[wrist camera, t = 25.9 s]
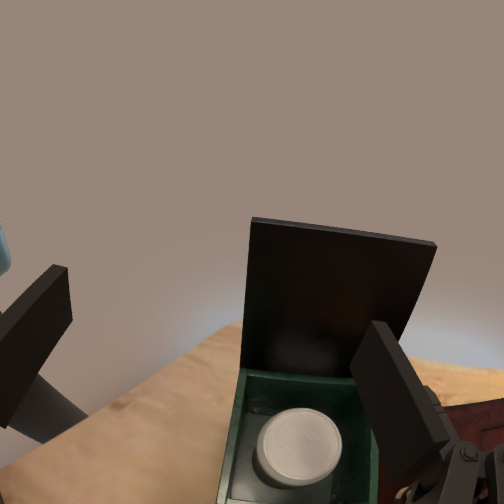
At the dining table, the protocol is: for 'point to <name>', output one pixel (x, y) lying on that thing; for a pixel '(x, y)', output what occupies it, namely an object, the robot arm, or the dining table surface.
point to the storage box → (468, 429)
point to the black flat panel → (324, 293)
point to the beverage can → (296, 449)
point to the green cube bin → (287, 397)
